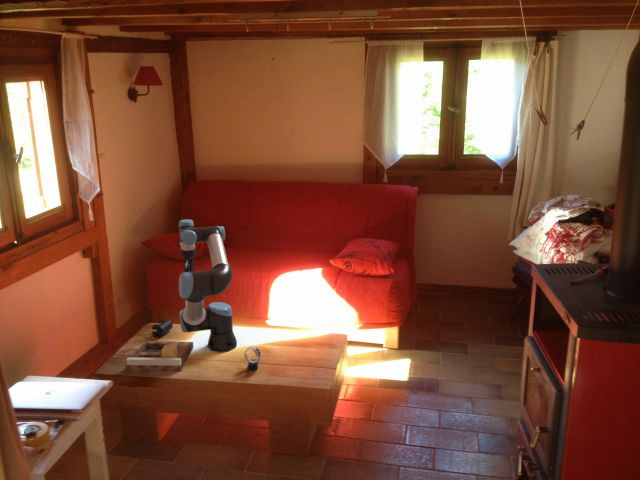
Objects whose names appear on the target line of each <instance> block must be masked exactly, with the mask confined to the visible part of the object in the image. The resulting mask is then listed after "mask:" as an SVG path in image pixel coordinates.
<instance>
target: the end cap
mask: <svg viewBox="0 0 640 480" xmlns="http://www.w3.org/2000/svg"><path fill="white" fill-rule="evenodd" d="M157 323H158V324H157ZM157 323H156V324H153V325H152V326H151V329H152V330H153V331H152V332H151V333H152V335H153V337H154V338H161V337H163V336H164V335H166V334H167V333H168V332H169V331H170V330H172V329H173V322H172V320H170V319H166V320H159V321H157Z"/></svg>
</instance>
